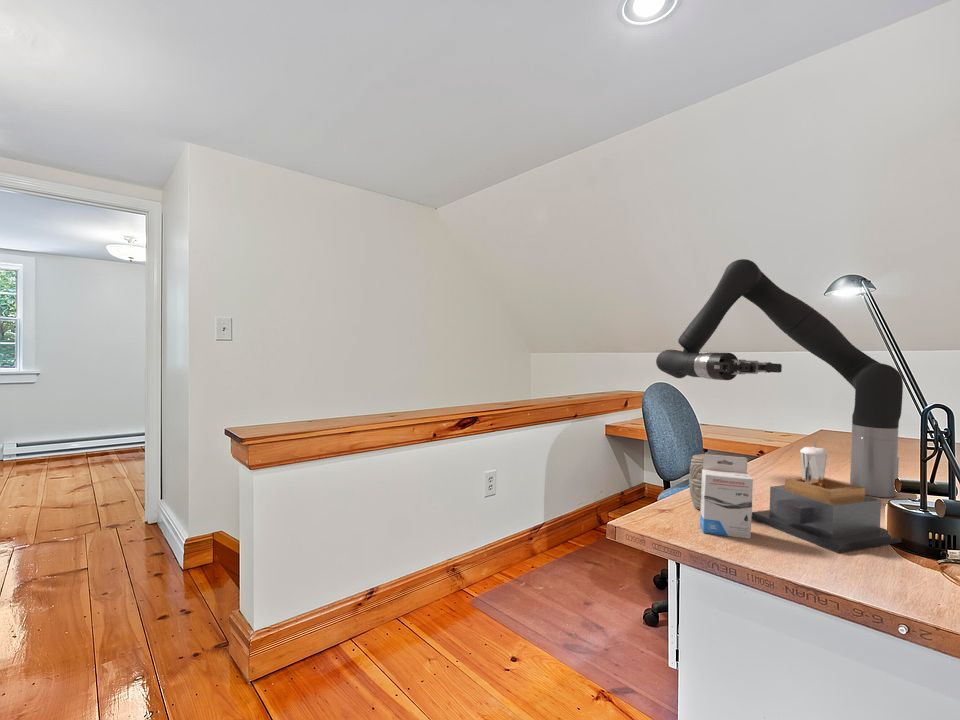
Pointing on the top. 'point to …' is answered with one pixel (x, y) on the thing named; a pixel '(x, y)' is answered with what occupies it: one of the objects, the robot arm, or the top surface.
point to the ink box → (726, 497)
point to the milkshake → (813, 465)
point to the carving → (696, 479)
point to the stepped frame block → (826, 515)
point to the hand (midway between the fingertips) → (767, 368)
